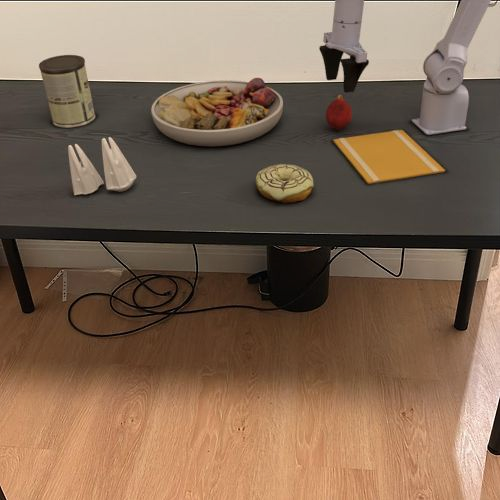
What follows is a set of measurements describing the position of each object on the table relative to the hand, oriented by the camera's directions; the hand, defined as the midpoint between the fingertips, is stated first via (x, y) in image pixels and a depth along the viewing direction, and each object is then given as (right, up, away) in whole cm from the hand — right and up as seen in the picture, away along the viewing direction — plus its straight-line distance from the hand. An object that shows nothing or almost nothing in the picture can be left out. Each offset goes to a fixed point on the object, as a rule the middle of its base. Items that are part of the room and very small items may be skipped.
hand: (339, 85), depth 135 cm
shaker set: (-47, -24, -12) cm, 54 cm away
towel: (+9, -16, -5) cm, 19 cm away
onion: (+1, -9, +6) cm, 11 cm away
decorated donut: (-13, -24, -15) cm, 31 cm away
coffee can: (-62, -4, +18) cm, 64 cm away
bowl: (-27, -6, +12) cm, 30 cm away
